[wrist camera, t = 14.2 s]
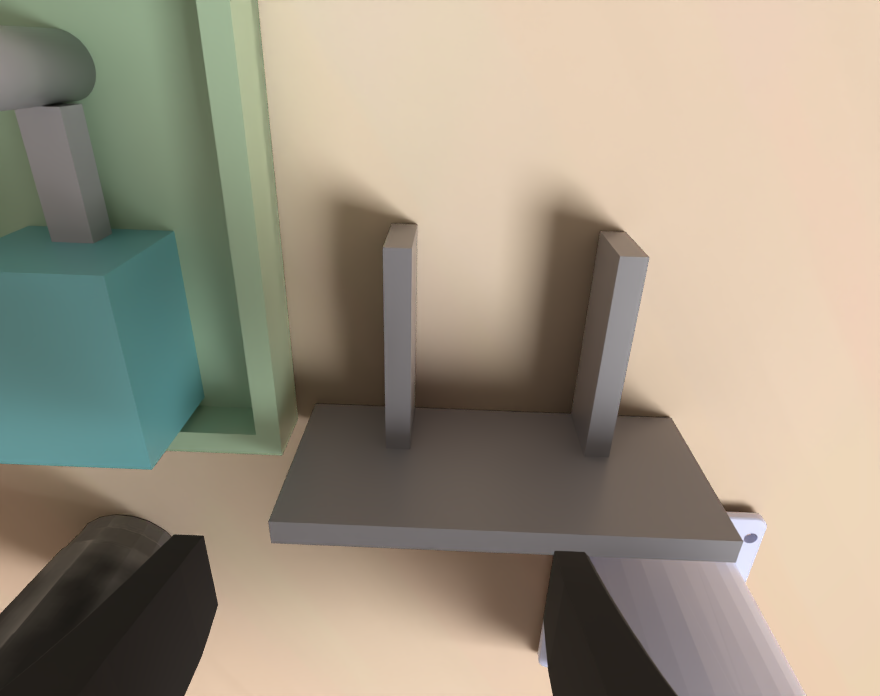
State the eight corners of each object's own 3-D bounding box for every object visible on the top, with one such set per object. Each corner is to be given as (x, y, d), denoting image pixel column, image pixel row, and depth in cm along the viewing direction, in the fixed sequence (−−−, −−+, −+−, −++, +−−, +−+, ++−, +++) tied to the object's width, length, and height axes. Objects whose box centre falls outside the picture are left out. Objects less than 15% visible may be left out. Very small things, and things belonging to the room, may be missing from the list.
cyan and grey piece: (204, 397, 21) (116, 518, 15) (78, 392, 21) (-54, 511, 15) (137, 30, 15) (-33, 20, 10) (-31, 25, 15) (-288, 12, 10)
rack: (666, 435, 22) (735, 562, 16) (316, 421, 22) (271, 543, 16) (717, 235, 18) (826, 312, 13) (301, 219, 18) (236, 290, 13)
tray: (298, 418, 22) (282, 455, 20) (15, 407, 22) (-29, 442, 20) (249, -83, 15) (217, -103, 13) (-166, -96, 15) (-260, -119, 13)
